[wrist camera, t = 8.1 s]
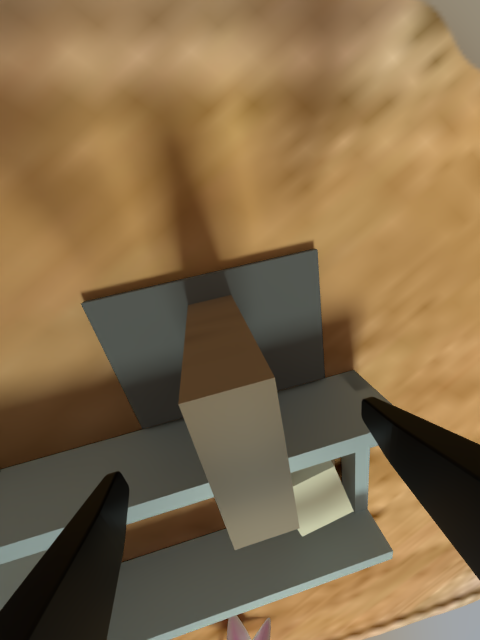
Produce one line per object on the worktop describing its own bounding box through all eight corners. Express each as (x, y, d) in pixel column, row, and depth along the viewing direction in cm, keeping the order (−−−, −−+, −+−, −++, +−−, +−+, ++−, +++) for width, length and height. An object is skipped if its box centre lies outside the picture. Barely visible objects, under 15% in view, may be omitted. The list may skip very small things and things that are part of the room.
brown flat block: (252, 391, 16) (299, 528, 9) (216, 400, 16) (234, 550, 9) (231, 294, 13) (275, 377, 6) (187, 305, 13) (178, 404, 6)
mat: (322, 374, 17) (324, 377, 17) (143, 424, 16) (142, 428, 16) (314, 248, 14) (317, 249, 13) (84, 301, 12) (81, 303, 12)
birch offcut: (339, 484, 20) (353, 511, 18) (292, 508, 20) (302, 536, 18) (319, 441, 17) (334, 466, 16) (266, 467, 17) (274, 495, 16)
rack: (353, 493, 24) (391, 558, 19) (87, 582, 21) (58, 679, 17) (353, 369, 18) (409, 420, 13) (-17, 474, 15) (-107, 580, 11)
